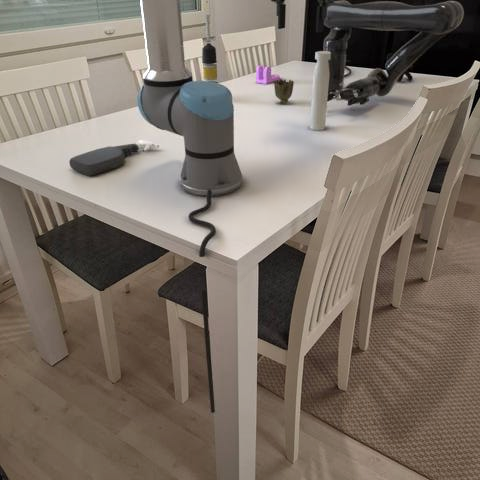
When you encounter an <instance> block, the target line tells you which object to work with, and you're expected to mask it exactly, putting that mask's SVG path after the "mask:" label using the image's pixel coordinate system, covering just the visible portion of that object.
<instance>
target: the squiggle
mask: <svg viewBox="0 0 480 480" xmlns="http://www.w3.org/2000/svg"><path fill="white" fill-rule="evenodd" d="M394 54H395V53H392V52H390V53H387V55H386V57H385V61H386V62H387V61H388V60H389V59H390V58H391V57H392V56H393V55H394ZM413 68H414V63H413V64H412V65H411V66H410V67H408V68H407V69H406V70H405V71H404V72H403V73H402V74H401V75H400V77H399V78H398V79H397V81H396V82H399V83H400V82H402V81H403V79H404V76H406V78H407V80H408V81H412V80H413V79H414V77H413V75H412V74H411V73H410V72H409V71H410V70H412V69H413Z"/></svg>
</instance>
